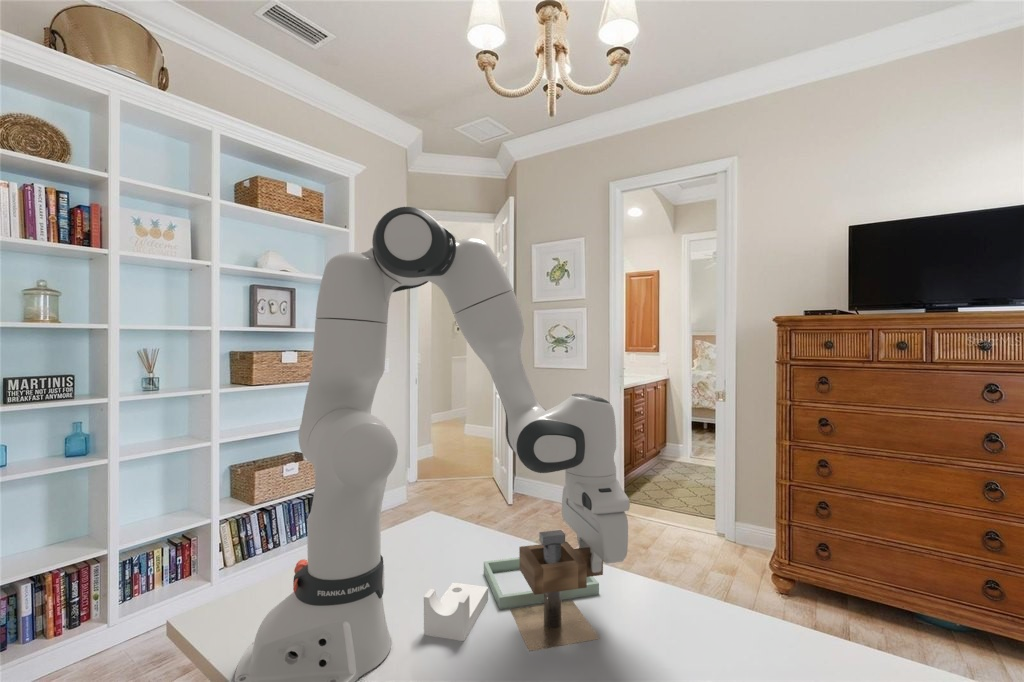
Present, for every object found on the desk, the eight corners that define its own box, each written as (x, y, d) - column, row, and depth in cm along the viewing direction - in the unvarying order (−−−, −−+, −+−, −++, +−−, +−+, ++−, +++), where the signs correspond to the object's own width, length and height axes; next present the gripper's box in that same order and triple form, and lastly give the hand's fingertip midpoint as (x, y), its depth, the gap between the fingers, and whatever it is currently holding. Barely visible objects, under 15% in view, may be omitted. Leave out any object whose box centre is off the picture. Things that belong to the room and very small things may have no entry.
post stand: (529, 657, 75) (528, 552, 75) (510, 614, 87) (509, 523, 87) (599, 644, 78) (599, 543, 78) (572, 605, 90) (571, 517, 90)
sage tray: (499, 614, 87) (499, 597, 87) (483, 575, 101) (483, 561, 101) (599, 598, 92) (599, 583, 92) (570, 564, 106) (570, 550, 106)
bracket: (464, 649, 78) (464, 602, 78) (424, 642, 80) (423, 596, 80) (488, 605, 90) (488, 565, 90) (453, 600, 92) (452, 561, 92)
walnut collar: (534, 594, 77) (534, 569, 77) (519, 569, 86) (519, 546, 86) (611, 584, 80) (611, 560, 80) (589, 560, 89) (589, 538, 89)
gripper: (553, 472, 94) (553, 543, 94) (598, 507, 74) (598, 597, 74) (583, 470, 95) (583, 539, 95) (635, 504, 75) (635, 592, 75)
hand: (590, 565), depth 84 cm, fingers closed on walnut collar, 2 cm apart
